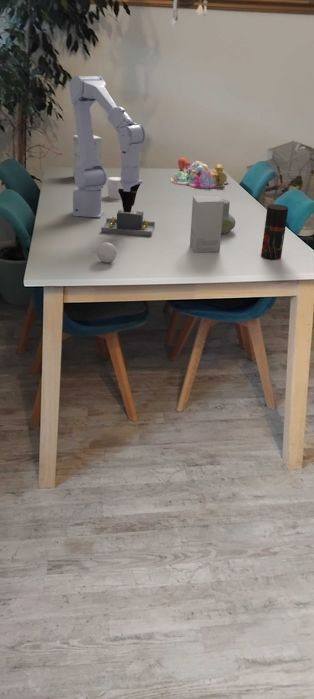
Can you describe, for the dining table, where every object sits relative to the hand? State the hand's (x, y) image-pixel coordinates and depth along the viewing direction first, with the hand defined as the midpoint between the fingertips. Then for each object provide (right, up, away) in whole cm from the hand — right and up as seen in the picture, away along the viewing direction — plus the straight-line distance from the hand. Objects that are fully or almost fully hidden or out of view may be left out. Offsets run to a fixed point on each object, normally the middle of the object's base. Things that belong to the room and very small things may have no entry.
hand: (128, 208), depth 206 cm
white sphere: (-6, -21, -25) cm, 33 cm away
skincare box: (+23, -15, -11) cm, 30 cm away
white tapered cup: (-7, +13, +39) cm, 42 cm away
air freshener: (+29, -6, +7) cm, 30 cm away
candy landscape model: (+27, +26, +68) cm, 78 cm away
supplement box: (-20, +27, +64) cm, 72 cm away
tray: (0, -6, +3) cm, 7 cm away
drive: (0, -6, +3) cm, 6 cm away
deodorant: (+43, -17, -14) cm, 48 cm away
